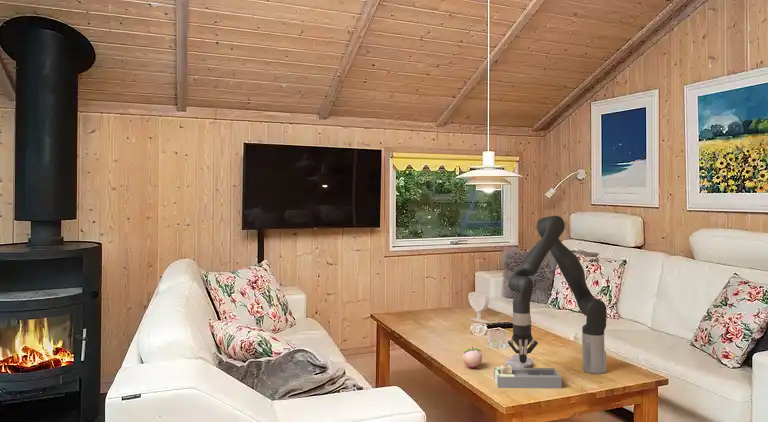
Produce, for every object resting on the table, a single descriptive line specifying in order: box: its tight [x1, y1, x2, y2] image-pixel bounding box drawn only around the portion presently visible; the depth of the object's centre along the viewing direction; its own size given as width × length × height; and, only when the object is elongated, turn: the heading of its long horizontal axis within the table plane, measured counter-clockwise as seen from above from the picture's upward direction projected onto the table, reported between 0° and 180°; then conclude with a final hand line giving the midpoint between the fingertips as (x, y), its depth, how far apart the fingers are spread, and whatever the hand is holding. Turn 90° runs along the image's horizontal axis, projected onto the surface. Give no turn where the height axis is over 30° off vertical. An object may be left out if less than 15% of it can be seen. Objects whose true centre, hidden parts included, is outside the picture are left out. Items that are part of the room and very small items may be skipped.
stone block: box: [505, 354, 534, 368], centre depth 236 cm, size 12×5×10 cm
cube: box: [500, 364, 512, 374], centre depth 216 cm, size 4×4×4 cm
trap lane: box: [493, 366, 563, 389], centre depth 215 cm, size 26×12×5 cm, turn 86°
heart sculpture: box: [468, 291, 490, 324], centre depth 325 cm, size 16×5×18 cm, turn 34°
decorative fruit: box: [462, 346, 483, 369], centre depth 235 cm, size 9×8×10 cm
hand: (522, 362), depth 215 cm, fingers closed
